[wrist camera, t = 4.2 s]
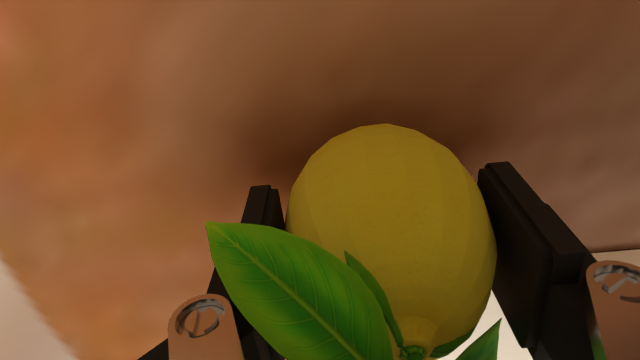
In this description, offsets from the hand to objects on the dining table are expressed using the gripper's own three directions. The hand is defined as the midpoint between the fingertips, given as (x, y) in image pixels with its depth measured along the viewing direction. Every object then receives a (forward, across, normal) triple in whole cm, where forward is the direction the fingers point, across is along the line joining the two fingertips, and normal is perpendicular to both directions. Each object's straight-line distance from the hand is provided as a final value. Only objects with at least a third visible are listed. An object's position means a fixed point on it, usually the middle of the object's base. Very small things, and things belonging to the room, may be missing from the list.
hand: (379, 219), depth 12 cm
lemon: (+3, 0, 0) cm, 3 cm away
